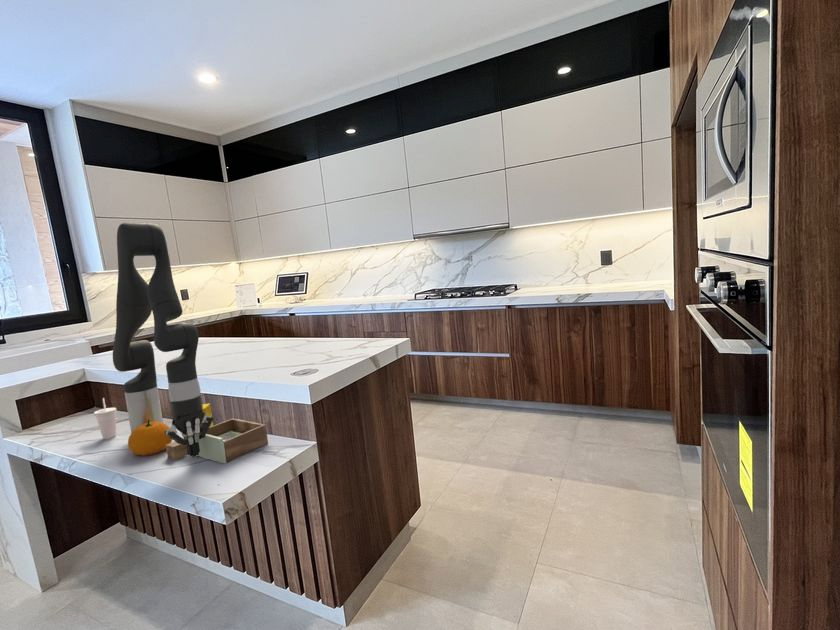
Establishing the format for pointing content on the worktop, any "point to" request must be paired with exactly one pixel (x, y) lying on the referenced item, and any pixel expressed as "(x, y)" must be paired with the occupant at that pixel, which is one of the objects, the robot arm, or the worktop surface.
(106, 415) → the smoothie
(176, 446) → the brown wooden cube
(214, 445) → the tray
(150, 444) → the fruit
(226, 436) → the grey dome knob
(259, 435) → the cubby
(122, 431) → the worktop surface
